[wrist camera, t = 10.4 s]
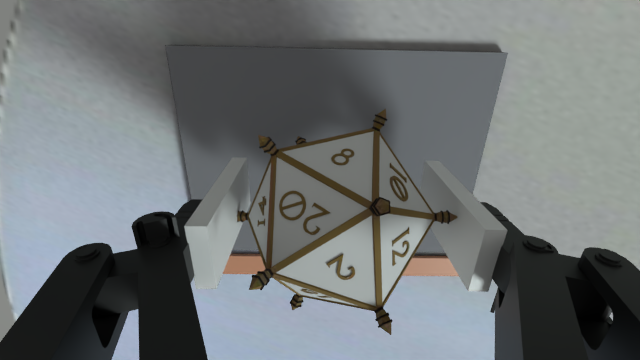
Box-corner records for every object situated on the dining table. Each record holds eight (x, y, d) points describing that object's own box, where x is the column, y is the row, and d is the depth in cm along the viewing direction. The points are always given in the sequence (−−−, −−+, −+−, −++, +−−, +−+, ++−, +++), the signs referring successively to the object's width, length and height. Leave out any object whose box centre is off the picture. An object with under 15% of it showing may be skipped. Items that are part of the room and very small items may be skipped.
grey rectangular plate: (454, 247, 22) (457, 252, 22) (202, 245, 22) (200, 249, 22) (502, 52, 17) (507, 52, 17) (169, 45, 17) (165, 45, 16)
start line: (462, 273, 23) (463, 276, 23) (165, 270, 23) (163, 273, 23) (466, 256, 23) (468, 258, 22) (161, 252, 22) (159, 255, 22)
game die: (303, 170, 21) (161, 252, 14) (363, 56, 15) (174, 99, 8) (405, 267, 19) (300, 421, 12) (519, 178, 13) (445, 374, 6)
